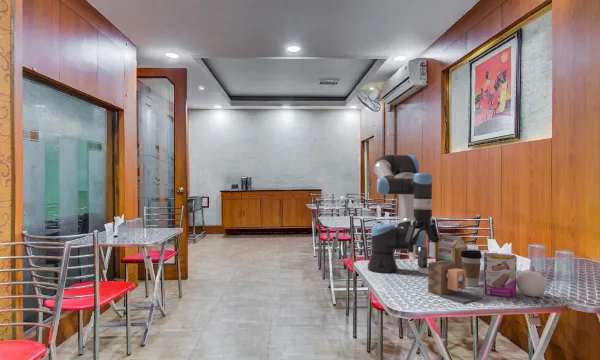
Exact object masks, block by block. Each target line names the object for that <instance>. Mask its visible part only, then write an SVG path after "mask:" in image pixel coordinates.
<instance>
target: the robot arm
mask: <svg viewBox="0 0 600 360" xmlns="http://www.w3.org/2000/svg"><path fill="white" fill-rule="evenodd" d="M372 171H373V173H374V174H375V176H376V177H377V180H376V193H377V194H379V195H398V207H399V222H398V223H397V226H395V224H394V223H383V224H377V225H373V226H372V228H371V231H370V232H371V233H370V236H371V239H370V240H371V242H370V243H371V246H370V247H371V248H370V251H371V252H370V257H369V261H368V262H367V270H369V271H371V272H375V273H382V274H383V273H385V274H386V273H387V274H389V273H390V274H391V273H392V274H393V273H396V272H398V270H399V269H398V264H397V260H396V258H395V257H396V256H395V251H396V250H397V251H408V258H409V259H408V260H410V261H416V251H418V246H424V244H425V238H426V235H427V237H428V239H429V240H430V241H429V242H428V243H429V244H428V245H429V248H428V250H429V253H428V255H429V257H428V258H433V259H434V258H436V244H437V243H438V241H439V240H440V239H441V237H440V235H439V233H438V229H437V225H436V219H431V218H433V210H432V207H433V202H432V201H433V198H432V197H433V175H432V174H431V173H429V172H420V169H419V161H418V158H417V156H416V155H414V154H385V155H381V156H380V157H378V158H376V160H375V161H374V162H373V166H372Z"/></svg>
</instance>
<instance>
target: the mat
mask: <svg viewBox="0 0 600 360" xmlns="http://www.w3.org/2000/svg"><path fill="white" fill-rule="evenodd" d="M439 297H440V298H443V299H446V300H450V301H453V302H456V303H459V304H462V305H465V304H468V303H473V302H477V301H480V300H483V297H482V296H478V295H476V294H472V293H468V292H464V291H462V290H458V291H457V292H453V293H448V294H444V295H440V296H439Z"/></svg>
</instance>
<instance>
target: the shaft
mask: <svg viewBox="0 0 600 360" xmlns="http://www.w3.org/2000/svg"><path fill="white" fill-rule="evenodd" d="M428 249H429V248H428V246H424V245H423V246H418V250H417V266H418V267H417V270H418V272H419V273H423V274H425V275H428ZM446 279H448V271H446ZM464 280H465V277H464V275H458V282H461V283H463V282H464Z"/></svg>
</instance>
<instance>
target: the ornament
mask: <svg viewBox="0 0 600 360" xmlns="http://www.w3.org/2000/svg"><path fill="white" fill-rule="evenodd" d="M547 286H548V284H547V280H546V278H545V276H544V274H543V273H540V272H539V271H537V270H536V269H535V266H534V265H531V266H530V269H524V270H522V271H520V272H519V273H518V274H517V275H516V288H517V290H518V291H519V292H521V293H522V294H523V295H525V296H528V297H532V298H533V297H534V298H535V297H540V296H542V295H544V293H545V292H547V291H546V290H547Z"/></svg>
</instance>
